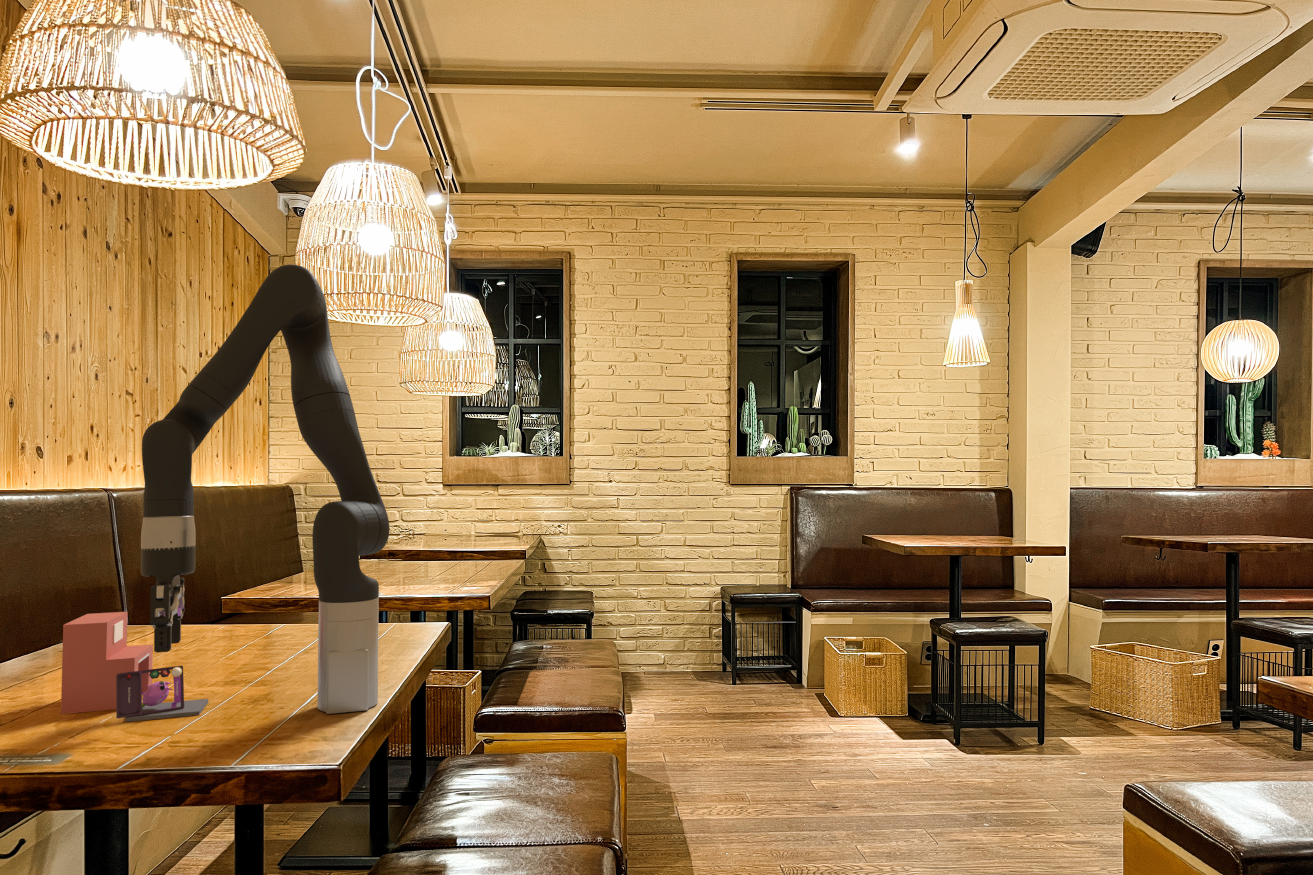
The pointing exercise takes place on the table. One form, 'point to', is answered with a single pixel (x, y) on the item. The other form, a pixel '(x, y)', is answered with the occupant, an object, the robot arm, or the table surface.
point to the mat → (189, 709)
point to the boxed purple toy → (156, 694)
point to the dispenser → (98, 661)
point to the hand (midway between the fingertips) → (167, 647)
